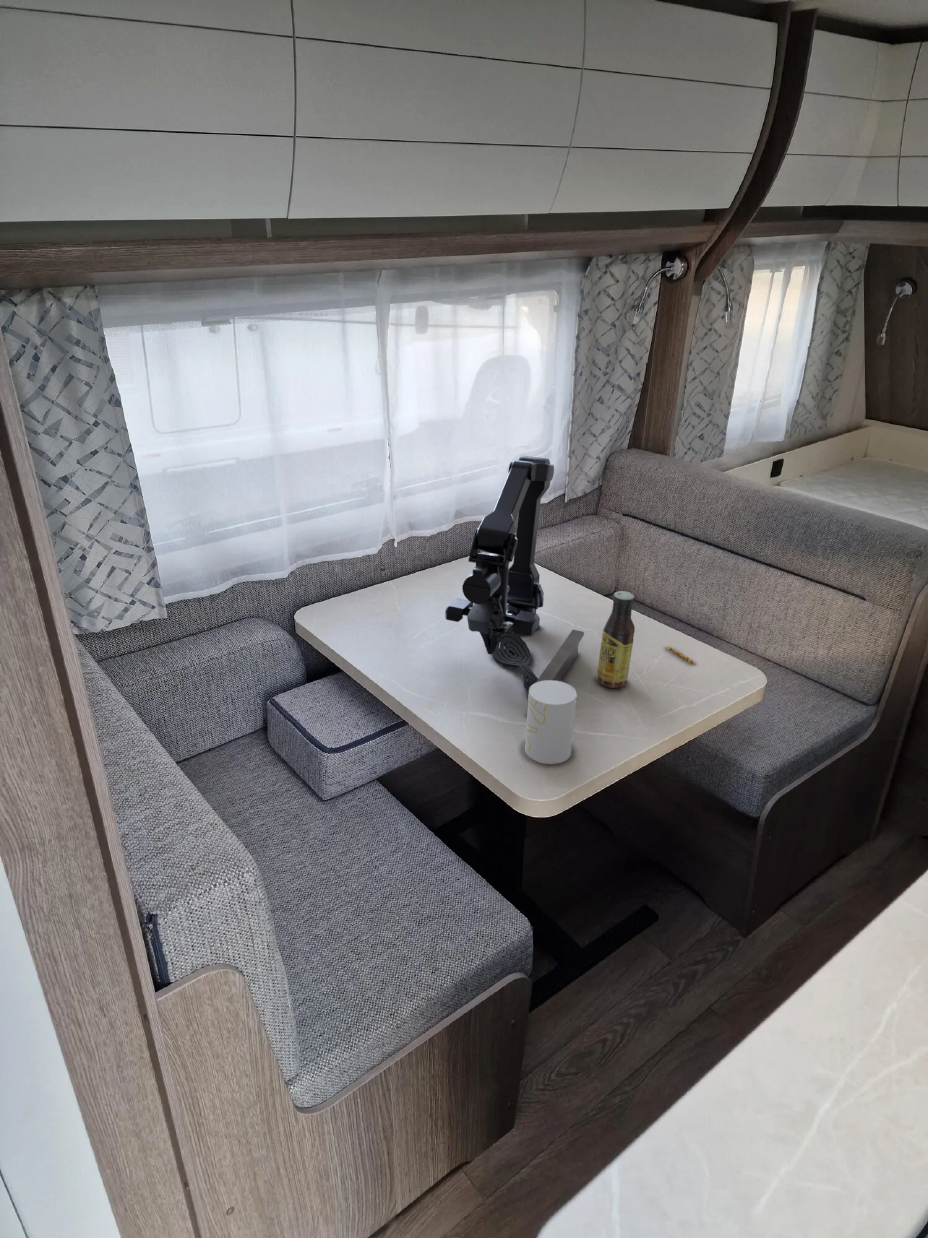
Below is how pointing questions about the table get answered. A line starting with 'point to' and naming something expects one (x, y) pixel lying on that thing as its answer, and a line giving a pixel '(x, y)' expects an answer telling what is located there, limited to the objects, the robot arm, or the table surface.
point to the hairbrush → (515, 656)
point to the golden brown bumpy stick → (681, 655)
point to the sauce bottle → (617, 642)
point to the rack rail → (562, 658)
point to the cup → (550, 721)
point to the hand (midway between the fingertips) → (490, 653)
